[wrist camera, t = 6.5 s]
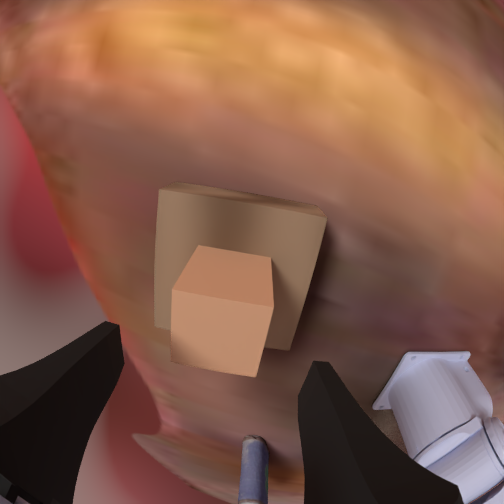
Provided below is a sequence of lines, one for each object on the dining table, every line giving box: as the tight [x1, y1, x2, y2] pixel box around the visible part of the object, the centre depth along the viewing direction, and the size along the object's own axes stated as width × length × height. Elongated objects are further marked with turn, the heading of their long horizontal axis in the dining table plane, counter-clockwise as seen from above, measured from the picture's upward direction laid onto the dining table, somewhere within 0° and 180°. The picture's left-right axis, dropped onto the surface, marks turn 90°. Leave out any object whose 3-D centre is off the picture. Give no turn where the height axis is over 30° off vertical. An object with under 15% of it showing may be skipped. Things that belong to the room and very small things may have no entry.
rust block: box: [171, 245, 274, 377], centre depth 14 cm, size 4×4×5 cm
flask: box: [238, 435, 269, 504], centre depth 23 cm, size 9×3×11 cm, turn 4°
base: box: [154, 182, 327, 351], centre depth 17 cm, size 9×9×3 cm
